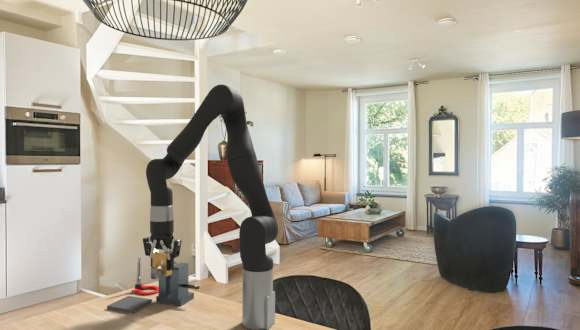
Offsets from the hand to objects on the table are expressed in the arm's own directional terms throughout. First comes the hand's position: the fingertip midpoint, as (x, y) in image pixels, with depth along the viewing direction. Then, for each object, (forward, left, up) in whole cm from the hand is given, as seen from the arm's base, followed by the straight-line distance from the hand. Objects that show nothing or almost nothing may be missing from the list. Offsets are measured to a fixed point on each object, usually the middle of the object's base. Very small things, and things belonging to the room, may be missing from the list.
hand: (162, 269), depth 136 cm
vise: (-2, -4, -13) cm, 14 cm away
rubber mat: (+11, +2, -13) cm, 17 cm away
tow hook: (+15, -12, -13) cm, 23 cm away
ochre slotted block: (0, 0, -2) cm, 2 cm away
